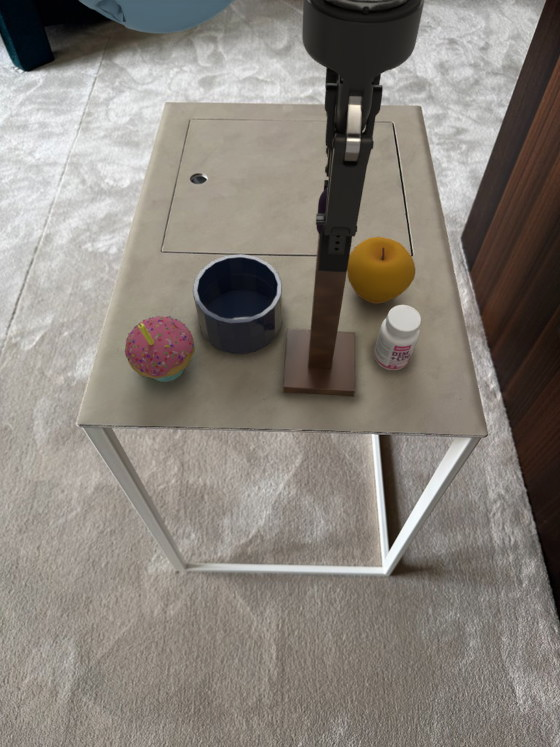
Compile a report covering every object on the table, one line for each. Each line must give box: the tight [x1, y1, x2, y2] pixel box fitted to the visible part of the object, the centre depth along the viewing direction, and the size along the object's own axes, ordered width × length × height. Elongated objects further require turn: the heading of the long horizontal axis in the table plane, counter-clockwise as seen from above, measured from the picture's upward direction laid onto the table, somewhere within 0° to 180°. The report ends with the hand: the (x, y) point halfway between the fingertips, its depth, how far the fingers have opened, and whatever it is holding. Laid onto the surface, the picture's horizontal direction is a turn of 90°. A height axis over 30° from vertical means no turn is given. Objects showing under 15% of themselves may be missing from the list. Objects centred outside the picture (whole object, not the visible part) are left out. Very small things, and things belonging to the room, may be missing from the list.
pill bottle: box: [373, 304, 422, 371], centre depth 68 cm, size 5×5×8 cm
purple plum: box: [315, 187, 328, 236], centre depth 49 cm, size 4×4×5 cm
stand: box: [282, 234, 356, 398], centre depth 61 cm, size 9×9×24 cm
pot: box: [192, 253, 283, 355], centre depth 72 cm, size 11×11×7 cm
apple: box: [347, 236, 416, 305], centre depth 74 cm, size 9×9×9 cm
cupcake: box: [124, 315, 196, 383], centre depth 66 cm, size 9×8×12 cm
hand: (332, 251), depth 53 cm, fingers closed on purple plum, 4 cm apart
